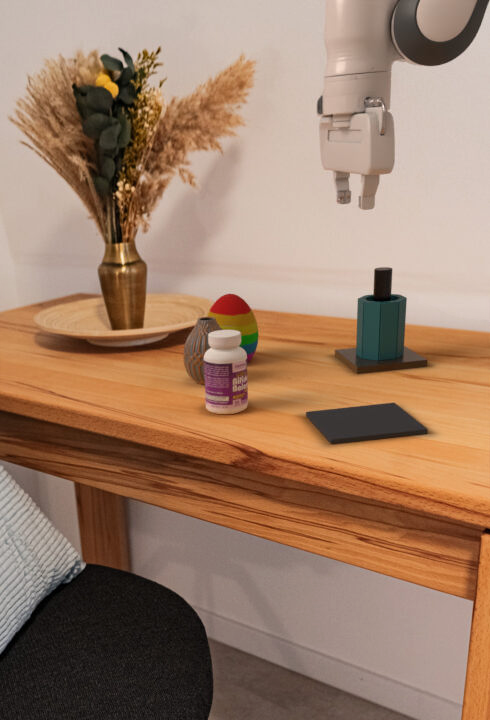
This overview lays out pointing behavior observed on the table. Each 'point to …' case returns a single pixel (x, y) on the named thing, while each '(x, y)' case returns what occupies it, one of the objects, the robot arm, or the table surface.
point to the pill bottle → (225, 373)
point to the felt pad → (365, 423)
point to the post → (367, 366)
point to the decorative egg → (237, 320)
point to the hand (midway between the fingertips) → (354, 206)
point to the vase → (198, 348)
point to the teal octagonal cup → (380, 328)
